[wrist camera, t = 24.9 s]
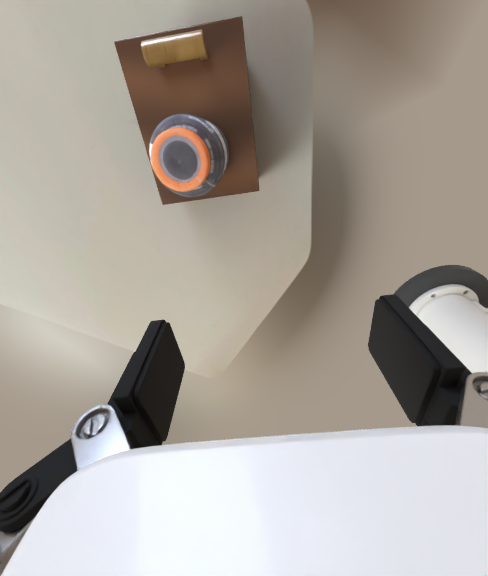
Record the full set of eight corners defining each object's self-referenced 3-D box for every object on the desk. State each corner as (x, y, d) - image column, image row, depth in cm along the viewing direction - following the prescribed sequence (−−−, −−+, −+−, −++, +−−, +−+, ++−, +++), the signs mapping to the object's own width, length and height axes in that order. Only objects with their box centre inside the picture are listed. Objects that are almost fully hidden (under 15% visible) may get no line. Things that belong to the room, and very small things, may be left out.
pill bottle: (169, 171, 28) (130, 190, 18) (179, 109, 25) (138, 92, 15) (221, 189, 29) (209, 216, 19) (236, 131, 26) (231, 128, 16)
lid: (117, 43, 23) (91, 24, 19) (242, 19, 22) (241, -6, 18) (164, 203, 30) (152, 213, 26) (259, 189, 29) (261, 197, 26)
